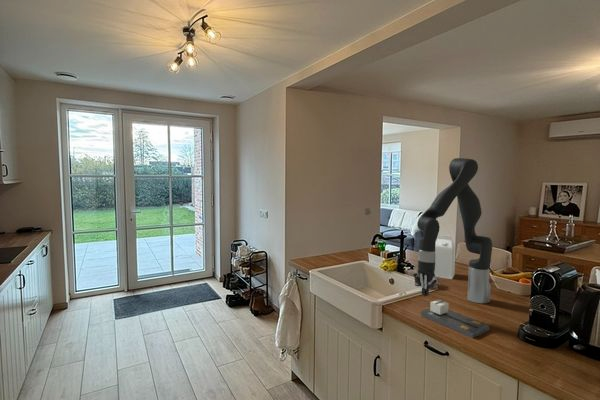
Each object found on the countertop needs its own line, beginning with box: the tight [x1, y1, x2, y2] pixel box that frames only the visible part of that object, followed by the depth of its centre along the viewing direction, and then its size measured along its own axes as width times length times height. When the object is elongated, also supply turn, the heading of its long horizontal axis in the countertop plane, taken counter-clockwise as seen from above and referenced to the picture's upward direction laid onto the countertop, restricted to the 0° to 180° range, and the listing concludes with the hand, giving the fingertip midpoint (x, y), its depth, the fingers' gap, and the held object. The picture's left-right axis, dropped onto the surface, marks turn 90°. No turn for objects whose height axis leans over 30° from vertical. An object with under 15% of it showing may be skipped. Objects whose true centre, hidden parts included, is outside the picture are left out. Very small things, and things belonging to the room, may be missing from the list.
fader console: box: [420, 307, 490, 339], centre depth 139 cm, size 24×12×2 cm, turn 32°
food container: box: [413, 268, 419, 287], centre depth 185 cm, size 12×6×10 cm, turn 117°
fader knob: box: [429, 298, 450, 315], centre depth 145 cm, size 5×6×4 cm
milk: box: [434, 234, 456, 280], centre depth 204 cm, size 12×12×26 cm
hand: (425, 295), depth 151 cm, fingers closed
